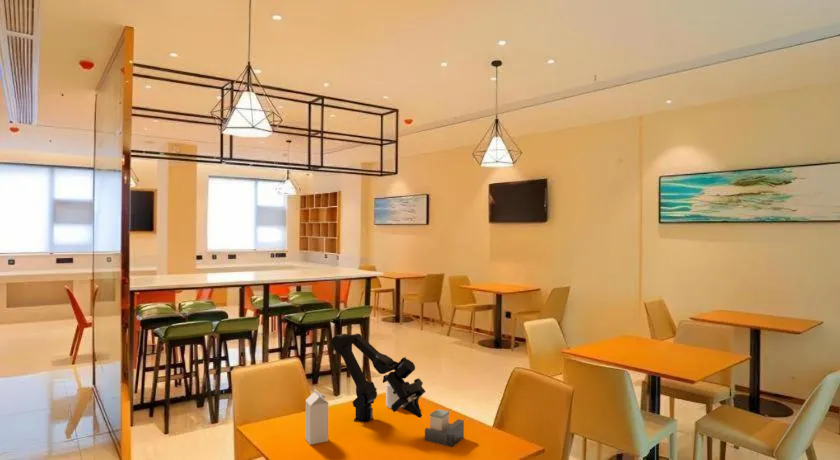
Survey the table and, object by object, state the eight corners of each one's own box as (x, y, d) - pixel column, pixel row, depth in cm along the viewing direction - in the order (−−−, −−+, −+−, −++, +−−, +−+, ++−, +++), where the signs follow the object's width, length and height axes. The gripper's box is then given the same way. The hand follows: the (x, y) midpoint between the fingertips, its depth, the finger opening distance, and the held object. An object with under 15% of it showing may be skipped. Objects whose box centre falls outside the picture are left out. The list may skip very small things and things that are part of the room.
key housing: (424, 440, 195) (425, 422, 195) (436, 431, 204) (437, 414, 204) (452, 447, 189) (452, 428, 189) (463, 438, 198) (463, 420, 198)
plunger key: (429, 435, 196) (430, 413, 196) (437, 429, 201) (437, 409, 201) (441, 437, 193) (441, 416, 193) (448, 432, 199) (449, 411, 199)
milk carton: (309, 445, 189) (310, 395, 189) (305, 438, 196) (305, 389, 196) (328, 441, 193) (328, 392, 193) (322, 435, 199) (323, 387, 199)
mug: (412, 403, 237) (412, 381, 237) (410, 409, 228) (411, 387, 228) (387, 402, 238) (387, 380, 238) (384, 408, 229) (385, 386, 229)
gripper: (398, 379, 196) (422, 413, 191) (422, 368, 212) (444, 399, 207) (381, 395, 200) (404, 429, 195) (405, 383, 216) (427, 414, 211)
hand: (420, 417), depth 202 cm, fingers closed
